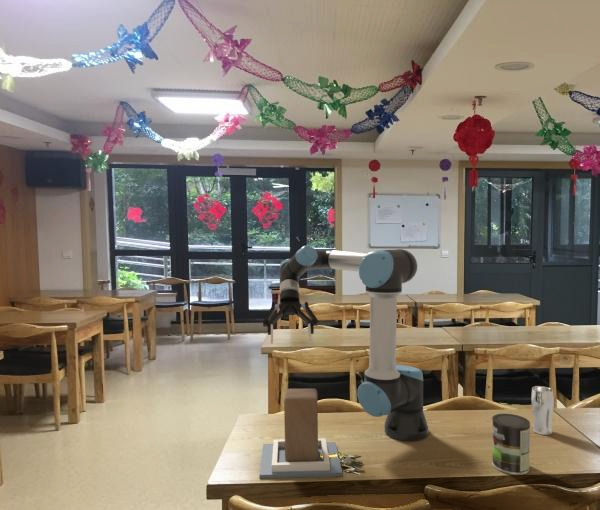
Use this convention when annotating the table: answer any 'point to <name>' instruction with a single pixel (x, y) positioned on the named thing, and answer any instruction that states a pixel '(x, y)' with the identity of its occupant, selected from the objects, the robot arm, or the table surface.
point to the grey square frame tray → (279, 468)
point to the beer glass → (542, 409)
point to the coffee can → (511, 443)
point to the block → (301, 425)
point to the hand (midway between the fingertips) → (291, 341)
